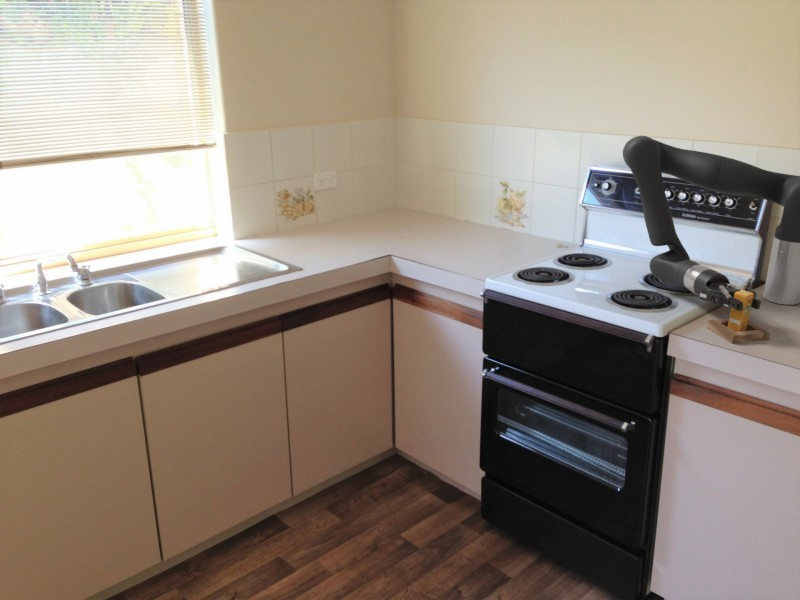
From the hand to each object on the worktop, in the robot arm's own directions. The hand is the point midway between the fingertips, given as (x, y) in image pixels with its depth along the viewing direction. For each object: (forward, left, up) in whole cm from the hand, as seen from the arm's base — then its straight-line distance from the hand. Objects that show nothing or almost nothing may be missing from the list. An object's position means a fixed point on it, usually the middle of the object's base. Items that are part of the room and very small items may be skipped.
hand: (750, 306), depth 171 cm
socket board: (0, -3, -8) cm, 9 cm away
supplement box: (0, -3, -8) cm, 8 cm away
